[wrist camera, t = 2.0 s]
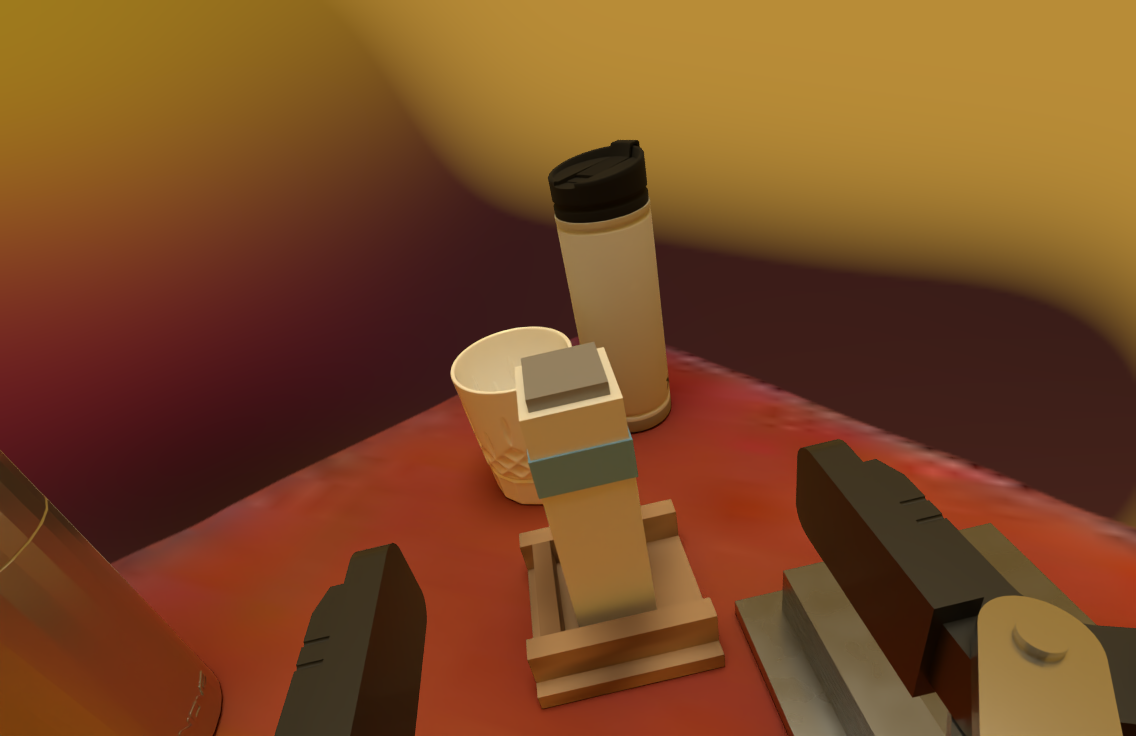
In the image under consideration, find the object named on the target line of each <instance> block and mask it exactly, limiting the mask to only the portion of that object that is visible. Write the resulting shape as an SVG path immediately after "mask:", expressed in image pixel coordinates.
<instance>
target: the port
mask: <svg viewBox="0 0 1136 736" xmlns="http://www.w3.org/2000/svg"><path fill="white" fill-rule="evenodd" d="M958 531H959V532H960V533H961V534H962V535H963V536H964V537H965V538H966V539H967V540H968V541H969V542H970V543H971V544H972V545H973V546H974V547H975V548H976V549H977V550H978V551H979V552H980V553H981V554H982V555H983V556H984V557H985V558H986V560H987V561H988V562H989V563H990V564H991V565H992V566H993V567H994V568H995V569H996V570H997V571H998V572H999V573H1000V574H1001V575H1002V576H1003V577H1004V578H1005V579H1006V580H1007V581H1008V582H1009V583H1010V584H1011V585H1012V586H1013V587H1014V588H1015V589H1016V590H1017V591H1018V592H1019V593H1020V594H1022V595H1023V596H1025V597H1030V598H1035V599H1038V600H1041V601H1044V602H1047V603H1049V604H1052V605H1054V606H1057V607H1058V608H1060V609H1062V610H1064V611H1066V612H1068V613H1069V614H1071V615H1072V616H1074V617H1075V618H1077V619H1078V620H1079V621H1080V622H1081V623H1085V624H1090V625H1096V624H1095V623H1094V622H1093V621H1092V620H1091V619H1090V618H1089V617H1088V616H1087V615H1086V614H1085V613H1083V612H1082V611H1081V610H1080V609H1079V608H1078V607H1077V606H1076V605H1075V604H1074V603H1073V602H1072V601H1071V600H1070V599H1069V598H1068V597H1067V596H1066V595H1065V594H1064V593H1063V592H1062V591H1061V590H1060V589H1059V588H1058V587H1057V586H1055V585H1054V584H1053V583H1052V582H1051V581H1050V580H1049V579H1048V578H1047V577H1046V576H1045V575H1044V574H1043V573H1042V572H1041V571H1040V570H1039V569H1038V568H1037V567H1036V566H1035V565H1034V564H1033V563H1032V562H1031V561H1030V560H1029V559H1027V558H1026V557H1025V556H1024V555H1023V554H1022V553H1021V552H1020V551H1019V550H1018V549H1017V548H1016V547H1015V546H1014V545H1013V544H1012V543H1011V542H1010V541H1009V540H1008V539H1007V538H1006V537H1005V536H1004V535H1003V534H1002V533H1000V532H999V531H998V530H997V529H996V528H995V527H994V526H993V525H992V524H991V523H989V524H984V525H980V526H976V527H971V528H967V529H963V530H958ZM735 613H736V616H737V618H738V620H739V623H740V625H741V627H742V630H743V632H744V634H745V636H746V639H747V641H748V643H749V646H750V648H751V650H752V653H753V655H754V657H755V660H756V662H757V664H758V667H759V669H760V671H761V674H762V676H763V678H764V680H765V683H766V685H767V687H768V690H769V692H770V694H771V697H772V699H773V701H774V704H775V706H776V708H777V711H778V713H779V715H780V718H781V720H782V722H783V724H784V727H785V729H786V731H787V734H788V736H946V722H947V713H948V709H947V708H946V706H945V705H944V703H943V702H942V701H941V699H940V698H939V696H938V695H937V693H936V692H935V693H930V694H926V695H922V696H918V697H914V698H912V696H911V695H910V693H909V692H908V690H907V689H906V687H905V686H904V684H903V683H902V681H901V680H900V678H899V676H898V675H897V673H896V672H895V670H894V669H893V667H892V666H891V664H890V663H889V661H888V660H887V658H886V657H885V655H884V653H883V652H882V650H881V649H880V647H879V646H878V644H877V643H876V641H875V640H874V638H873V637H872V635H871V633H870V632H869V630H868V629H867V627H866V626H865V624H864V623H863V621H862V620H861V618H860V617H859V615H858V613H857V612H856V610H855V609H854V607H853V606H852V604H851V603H850V601H849V600H848V598H847V597H846V595H845V593H844V592H843V590H842V589H841V587H840V586H839V584H838V583H837V581H836V580H835V578H834V577H833V575H832V573H831V572H830V570H829V569H828V567H827V566H826V564H825V563H824V562H820V563H816V564H811V565H807V566H803V567H798V568H794V569H790V570H785V571H783V590H781V591H777V592H773V593H768V594H764V595H760V596H756V597H751V598H747V599H743V600H738V601H735Z"/></svg>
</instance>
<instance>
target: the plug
mask: <svg viewBox="0 0 1136 736" xmlns="http://www.w3.org/2000/svg"><path fill="white" fill-rule="evenodd" d="M521 365H522V366H518V367H514V368H515V380H516V392H517V403H518V415H519V423H520V427H521V430H522V433H523V437H524V440H525V444H526V447H527V455H528V464H529V467H530V471H531V474H532V478H533V481H534V484H535V488H536V491H537V495H538V498H539V499H542V502H543V505H544V509H545V512H546V516H547V519H548V522H549V526H550V529H551V533H552V536H553V540H554V543H555V546H556V550H557V553H558V557H559V560H560V564H561V567H562V570H563V574H564V577H565V581H566V584H567V588H568V591H569V594H570V598H571V601H572V605H573V608H574V612H575V615H576V618H577V622H578V625H579V628H580V627H584V626H588V625H593V624H597V623H601V622H605V621H610V620H614V619H618V618H623V617H627V616H631V615H636V614H640V613H644V612H649V611H653V610H657V606H656V600H655V594H654V588H653V582H652V575H651V569H650V563H649V557H648V551H647V544H646V538H645V532H644V526H643V519H642V513H641V507H640V501H639V495H638V488H637V482H636V477H638V471H637V465H636V459H635V452H634V446H633V440H632V437H631V434H630V431H629V429H628V426H627V420H626V414H625V408H624V401H623V397H622V394H621V391H620V389H619V386H618V384H617V381H616V378H615V376H614V373H613V370H612V368H611V365H610V362H609V360H608V357H607V354H606V352H605V349H604V347H602V348H596V345H595V343H594V342H590V343H586V344H581V345H577V346H573V347H568V348H564V349H559V350H555V351H550V352H546V353H542V354H537V355H533V356H528V357H524V358H521Z"/></svg>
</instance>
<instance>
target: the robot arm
mask: <svg viewBox="0 0 1136 736" xmlns="http://www.w3.org/2000/svg"><path fill="white" fill-rule="evenodd" d="M796 507H797V513H798V516H799V520H800V522H801V525H802V527H803V529H804V531H805V533H806V535H807V537H808V538H809V540H810V541H811V543H812V544H813V546H814V547H815V549H816V550H817V552H818V554H819V555H820V557H821V558H822V560H823V561H824V563H825V564H826V566H827V567H828V569H829V570H830V572H831V573H832V575H833V577H834V578H835V580H836V581H837V583H838V584H839V586H840V587H841V589H842V590H843V592H844V593H845V595H846V597H847V598H848V600H849V601H850V603H851V604H852V606H853V607H854V609H855V610H856V612H857V613H858V615H859V617H860V618H861V620H862V621H863V623H864V624H865V626H866V627H867V629H868V630H869V632H870V633H871V635H872V637H873V638H874V640H875V641H876V643H877V644H878V646H879V647H880V649H881V650H882V652H883V653H884V655H885V657H886V658H887V660H888V661H889V663H890V664H891V666H892V667H893V669H894V670H895V672H896V673H897V675H898V676H899V678H900V680H901V681H902V683H903V684H904V686H905V687H906V689H907V690H908V692H909V693H910V695H911V696H912V698H914V697H918V696H922V695H926V694H930V693H935V692H936V693H937V695H938V696H939V698H940V699H941V701H942V702H943V703H944V705H945V706H946V708H947V709H948V713H947V722H946V736H1136V628H1124V627H1110V626H1098V625H1090V624H1085V623H1081V622H1080V621H1079V620H1078V619H1077V618H1075V617H1074V616H1072V615H1071V614H1069V613H1068V612H1066V611H1064V610H1062V609H1060V608H1058V607H1057V606H1054V605H1052V604H1049V603H1047V602H1044V601H1041V600H1038V599H1035V598H1030V597H1025V596H1023V595H1022V594H1020V593H1019V592H1018V591H1017V590H1016V589H1015V588H1014V587H1013V586H1012V585H1011V584H1010V583H1009V582H1008V581H1007V580H1006V579H1005V578H1004V577H1003V576H1002V575H1001V574H1000V573H999V572H998V571H997V570H996V569H995V568H994V567H993V566H992V565H991V564H990V563H989V562H988V561H987V560H986V558H985V557H984V556H983V555H982V554H981V553H980V552H979V551H978V550H977V549H976V548H975V547H974V546H973V545H972V544H971V543H970V542H969V541H968V540H967V539H966V538H965V537H964V536H963V535H962V534H961V533H960V532H959V531H958V530H957V529H956V528H955V527H954V525H953V524H952V523H951V522H950V521H949V520H948V519H947V518H945V519H944V518H943V516H942V513H941V512H940V511H939V510H938V509H937V508H936V507H935V506H934V505H933V504H932V503H931V502H930V501H929V500H928V501H927V500H926V499H925V496H924V495H923V494H922V492H921V491H920V490H919V489H918V488H917V487H916V486H915V485H914V484H913V483H912V482H911V481H910V480H909V479H908V478H907V477H906V476H905V475H904V474H902V473H900V472H898V471H897V470H895V469H893V468H891V467H889V466H888V465H886V464H884V463H882V462H880V461H879V460H877V459H874V460H870V461H865V462H863V461H862V460H861V459H860V458H859V457H858V456H857V455H856V454H855V453H854V451H853V450H852V449H851V448H850V447H849V446H848V445H847V444H846V443H845V442H844V441H842V440H840V439H837V440H833V441H828V442H824V443H820V444H816V445H812V446H807V447H803V448H800V449H799V451H798V456H797V488H796ZM426 624H427V613H426V605H425V600H424V596H423V593H422V591H421V589H420V587H419V585H418V583H417V581H416V579H415V577H414V575H413V573H412V571H411V569H410V568H409V566H408V564H407V562H406V560H405V558H404V556H403V554H402V552H401V550H400V549H399V547H398V546H397V545H396V544H394V543H392V544H388V545H383V546H379V547H375V548H371V549H366V550H362V551H358V552H355V553H354V554H353V555H352V557H351V559H350V563H349V566H348V570H347V574H346V578H345V581H344V584H340V585H336V586H332V587H330V588H329V590H328V591H327V593H326V594H325V596H324V597H323V598H322V600H321V601H320V603H319V604H318V606H317V607H316V609H315V610H314V612H313V613H312V616H311V619H310V622H309V626H308V629H307V632H306V635H305V638H304V647H302V648H301V651H300V655H299V658H298V661H297V664H296V666H297V671H295V672H294V674H293V677H292V680H291V684H290V687H289V690H288V693H287V697H286V700H285V703H284V706H283V710H282V713H281V716H280V719H279V722H278V726H277V729H276V732H275V735H274V736H415V728H416V719H417V709H418V700H419V690H420V681H421V672H422V662H423V653H424V643H425V634H426ZM221 700H222V694H221V689H220V683H219V681H218V679H217V678H216V676H215V675H214V673H213V672H212V671H211V670H210V669H209V668H208V667H207V665H206V664H205V663H204V662H203V661H202V660H201V659H200V658H199V657H198V656H197V655H196V654H195V653H194V652H193V651H192V650H191V649H190V648H189V647H188V646H187V645H186V643H185V642H184V641H183V640H182V639H181V638H180V637H179V636H178V635H177V634H176V632H175V631H174V630H173V629H172V628H171V627H170V626H169V625H168V624H167V623H166V622H165V621H164V620H163V619H162V618H161V617H160V616H159V615H158V614H157V613H156V612H155V611H154V610H153V608H152V607H151V606H150V605H149V604H148V603H147V602H146V601H145V600H144V599H143V598H142V597H141V596H140V595H139V594H138V593H137V592H136V591H135V590H134V589H133V588H132V587H131V586H130V585H129V583H128V582H127V581H126V580H125V579H124V578H123V577H122V576H121V575H120V574H119V573H118V572H117V571H116V570H115V569H114V568H113V567H112V566H111V565H110V564H109V563H108V562H107V561H106V560H105V559H104V557H103V556H102V555H101V554H100V553H99V552H98V551H97V550H96V549H95V548H94V547H93V546H92V545H91V544H90V543H89V542H88V541H87V540H86V539H85V538H84V537H83V536H82V535H81V534H80V532H79V531H78V530H77V529H76V528H75V527H74V526H73V525H72V524H71V523H70V522H69V521H68V520H67V519H66V518H65V517H64V516H63V515H62V514H61V513H60V512H59V511H58V510H57V508H56V507H55V506H53V505H52V504H51V502H50V501H49V500H48V499H47V498H46V497H45V496H44V495H43V494H42V493H41V492H40V491H39V490H38V489H37V488H36V487H35V486H34V485H33V484H32V483H31V482H30V481H29V480H28V479H27V478H26V477H25V476H24V475H23V474H22V472H21V471H20V470H19V469H18V468H17V467H16V466H15V465H14V464H13V463H12V462H11V461H10V460H9V459H8V458H7V457H6V456H5V455H4V454H3V453H2V452H1V451H0V736H213V734H214V732H215V728H216V725H217V722H218V718H219V715H220V711H221Z"/></svg>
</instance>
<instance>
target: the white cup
mask: <svg viewBox="0 0 1136 736" xmlns="http://www.w3.org/2000/svg"><path fill="white" fill-rule="evenodd" d="M568 347H572V345H571V342H570V340H569V339H568V338H567V337H566V336H565V335H564V334H563V333H561V332H559V331H557V330H554V329H550V328H544V327H521V328H515V329H509V330H505V331H501V332H499V333H495V334H492V335H490V336H487V337H485V338H483V339H481V340H479V341H477V342H475V343H474V344H472V345H471V346H469V347H468V348H466V349H465V350H464V351H463V352H462V353H461V354H460V355H459V356H458V357H457V358H456V360H455V361H454V363H453V365H452V368H451V378H452V380H453V383H454V385H455V388H456V390H457V393H458V395H459V397H460V400H461V402H462V405H463V407H464V410H465V412H466V415H467V417H468V420H469V422H470V424H471V427H472V429H473V432H474V434H475V436H476V438H477V440H478V443H479V445H480V447H481V449H482V452H483V454H484V456H485V459H486V461H487V463H488V465H489V466H490V467H491V469H492V472H493V474H494V477H495V480H496V482H497V484H498V486H499V487H500V489H501V490H502V492H503V493H504V495H505V496H506V497H507V498H509V499H512V500H514V501H516V502H518V503H521V504H543V502H542V499H539V498H538V495H537V491H536V488H535V484H534V481H533V478H532V474H531V471H530V467H529V464H528V455H527V447H526V444H525V440H524V437H523V433H522V430H521V427H520V423H519V415H518V403H517V392H516V380H515V368H514V367H518V366H522V365H521V358H524V357H528V356H533V355H537V354H542V353H546V352H550V351H555V350H559V349H564V348H568Z"/></svg>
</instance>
